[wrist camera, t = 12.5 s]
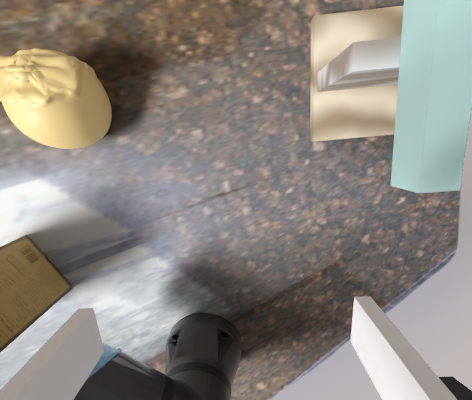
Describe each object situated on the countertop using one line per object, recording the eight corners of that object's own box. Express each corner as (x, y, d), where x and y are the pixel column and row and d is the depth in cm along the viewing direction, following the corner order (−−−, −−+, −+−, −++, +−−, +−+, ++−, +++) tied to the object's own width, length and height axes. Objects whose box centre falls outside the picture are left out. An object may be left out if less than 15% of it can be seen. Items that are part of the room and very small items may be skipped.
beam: (424, 183, 24) (459, 190, 20) (390, 185, 24) (419, 193, 20) (458, -137, 18) (517, -215, 14) (413, -131, 18) (459, -206, 14)
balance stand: (396, 133, 35) (473, 132, 23) (310, 141, 35) (343, 143, 24) (408, 10, 30) (511, -68, 19) (311, 21, 31) (352, -48, 19)
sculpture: (115, 63, 33) (57, 30, 23) (126, 147, 36) (80, 151, 26) (39, 64, 33) (-52, 31, 23) (57, 147, 37) (-16, 151, 26)
